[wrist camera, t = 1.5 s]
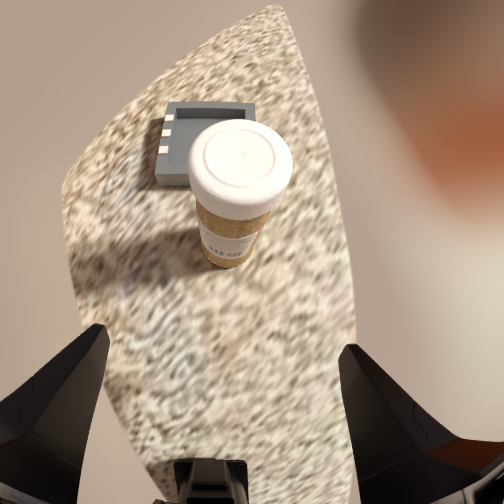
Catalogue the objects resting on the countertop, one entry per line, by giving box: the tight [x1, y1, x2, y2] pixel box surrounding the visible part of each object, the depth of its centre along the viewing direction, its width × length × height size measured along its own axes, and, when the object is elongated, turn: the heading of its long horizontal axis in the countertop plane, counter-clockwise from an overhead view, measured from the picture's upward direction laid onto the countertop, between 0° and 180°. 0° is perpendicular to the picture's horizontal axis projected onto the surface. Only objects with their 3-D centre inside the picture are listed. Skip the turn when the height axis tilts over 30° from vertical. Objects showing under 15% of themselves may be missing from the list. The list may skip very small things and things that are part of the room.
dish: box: [155, 101, 256, 186], centre depth 25 cm, size 9×9×2 cm
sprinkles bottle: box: [188, 119, 292, 268], centre depth 17 cm, size 5×5×14 cm
